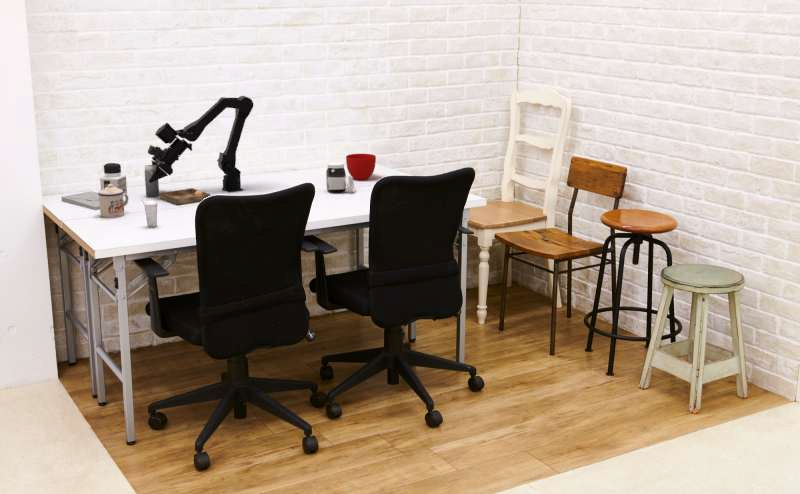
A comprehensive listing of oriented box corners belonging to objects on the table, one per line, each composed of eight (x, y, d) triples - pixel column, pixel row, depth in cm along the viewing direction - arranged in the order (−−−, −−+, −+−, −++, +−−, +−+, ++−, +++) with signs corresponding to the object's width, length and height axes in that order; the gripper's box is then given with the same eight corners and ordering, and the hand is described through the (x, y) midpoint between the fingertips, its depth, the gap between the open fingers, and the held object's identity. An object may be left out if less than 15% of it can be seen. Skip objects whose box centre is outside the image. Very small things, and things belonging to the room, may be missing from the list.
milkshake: (144, 224, 372) (142, 197, 369) (159, 224, 372) (157, 197, 370) (142, 227, 368) (140, 200, 365) (157, 227, 368) (156, 199, 365)
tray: (192, 194, 421) (192, 188, 421) (210, 200, 411) (210, 194, 410) (159, 199, 413) (159, 193, 412) (177, 205, 402) (176, 199, 401)
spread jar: (324, 189, 431) (324, 161, 428) (351, 188, 433) (351, 160, 430) (330, 195, 419) (329, 167, 416) (357, 194, 422) (357, 165, 419)
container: (118, 197, 416) (116, 165, 412) (101, 196, 417) (98, 164, 414) (127, 193, 423) (125, 162, 419) (109, 192, 424) (107, 161, 421)
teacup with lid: (109, 219, 380) (107, 188, 377) (94, 215, 386) (92, 184, 383) (136, 213, 389) (134, 182, 386) (121, 209, 395) (119, 179, 392)
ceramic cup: (381, 174, 460) (381, 152, 458) (371, 182, 444) (371, 159, 442) (353, 173, 463) (353, 151, 460) (342, 181, 447) (342, 158, 445)
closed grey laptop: (95, 212, 394) (126, 205, 404) (95, 206, 394) (126, 200, 404) (61, 201, 410) (92, 195, 420) (61, 196, 409) (91, 190, 419)
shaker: (155, 194, 421) (153, 164, 418) (161, 196, 417) (159, 165, 414) (143, 196, 418) (141, 165, 415) (149, 198, 414) (147, 167, 411)
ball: (200, 197, 413) (200, 189, 412) (204, 198, 411) (203, 190, 410) (193, 198, 411) (192, 190, 410) (197, 199, 409) (196, 191, 408)
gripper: (155, 134, 421) (129, 163, 420) (162, 141, 405) (135, 171, 404) (176, 152, 426) (150, 181, 425) (184, 160, 409) (157, 189, 408)
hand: (148, 180), depth 415 cm, fingers open, 7 cm apart
